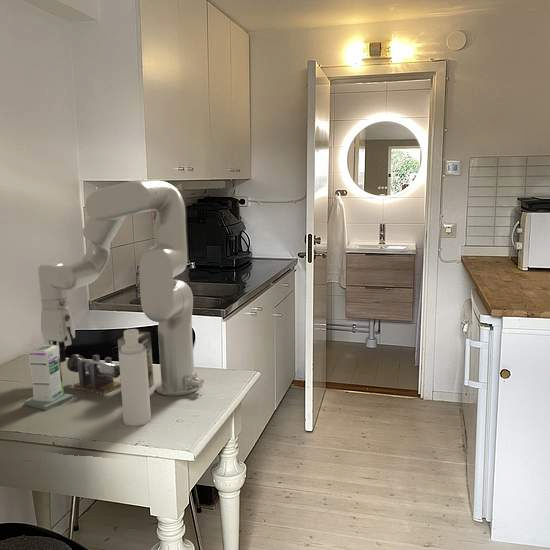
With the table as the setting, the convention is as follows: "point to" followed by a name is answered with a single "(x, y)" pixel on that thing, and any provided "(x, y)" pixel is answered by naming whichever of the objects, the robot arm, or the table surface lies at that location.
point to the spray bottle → (134, 380)
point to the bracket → (95, 377)
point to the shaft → (102, 367)
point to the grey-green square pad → (48, 405)
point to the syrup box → (46, 373)
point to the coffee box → (146, 341)
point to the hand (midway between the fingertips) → (60, 361)
